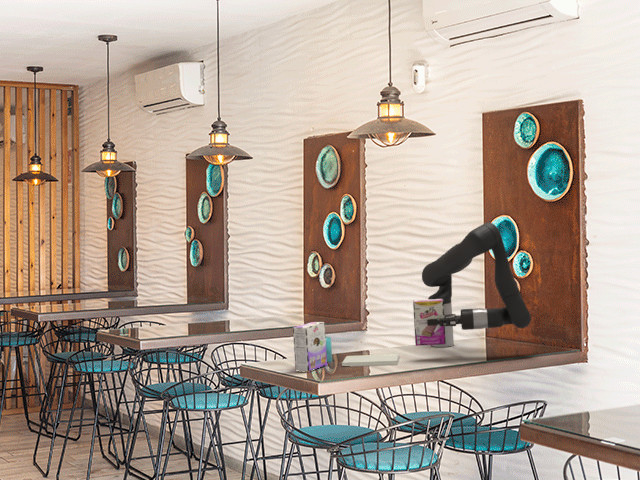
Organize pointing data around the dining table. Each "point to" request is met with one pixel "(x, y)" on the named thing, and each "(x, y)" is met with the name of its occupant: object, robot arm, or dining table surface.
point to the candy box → (310, 346)
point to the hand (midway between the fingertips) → (427, 321)
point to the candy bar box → (421, 315)
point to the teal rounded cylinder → (329, 349)
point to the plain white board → (371, 360)
